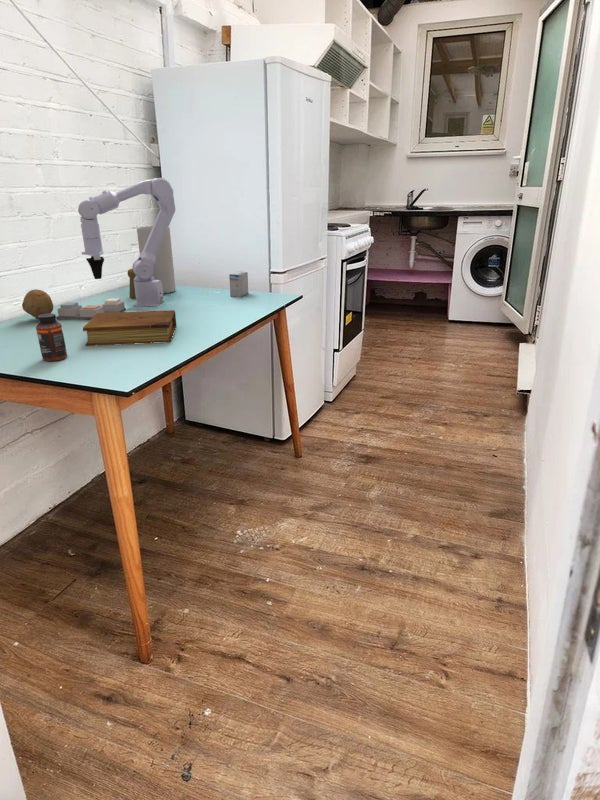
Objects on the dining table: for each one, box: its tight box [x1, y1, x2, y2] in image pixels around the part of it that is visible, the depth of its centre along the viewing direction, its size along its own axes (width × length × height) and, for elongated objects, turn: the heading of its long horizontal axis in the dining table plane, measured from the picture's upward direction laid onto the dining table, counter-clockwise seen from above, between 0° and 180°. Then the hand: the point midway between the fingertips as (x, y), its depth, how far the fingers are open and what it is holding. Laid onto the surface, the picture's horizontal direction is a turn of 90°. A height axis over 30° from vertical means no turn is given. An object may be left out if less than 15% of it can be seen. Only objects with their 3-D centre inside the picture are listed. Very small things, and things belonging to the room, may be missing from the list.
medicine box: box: [228, 270, 249, 298], centre depth 210 cm, size 8×4×9 cm, turn 162°
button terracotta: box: [82, 304, 101, 310], centre depth 178 cm, size 4×4×2 cm
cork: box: [127, 268, 136, 300], centre depth 207 cm, size 6×6×11 cm
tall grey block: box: [136, 225, 176, 294], centre depth 215 cm, size 12×12×25 cm
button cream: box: [104, 298, 122, 304], centre depth 184 cm, size 4×4×2 cm
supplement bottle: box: [35, 312, 68, 362], centre depth 135 cm, size 6×6×11 cm
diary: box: [82, 309, 177, 347], centre depth 157 cm, size 23×19×6 cm
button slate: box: [59, 301, 79, 309], centre depth 179 cm, size 4×4×2 cm
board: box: [56, 300, 127, 321], centre depth 182 cm, size 18×14×3 cm
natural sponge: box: [21, 288, 54, 320], centre depth 174 cm, size 9×9×10 cm
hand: (98, 278), depth 188 cm, fingers closed
